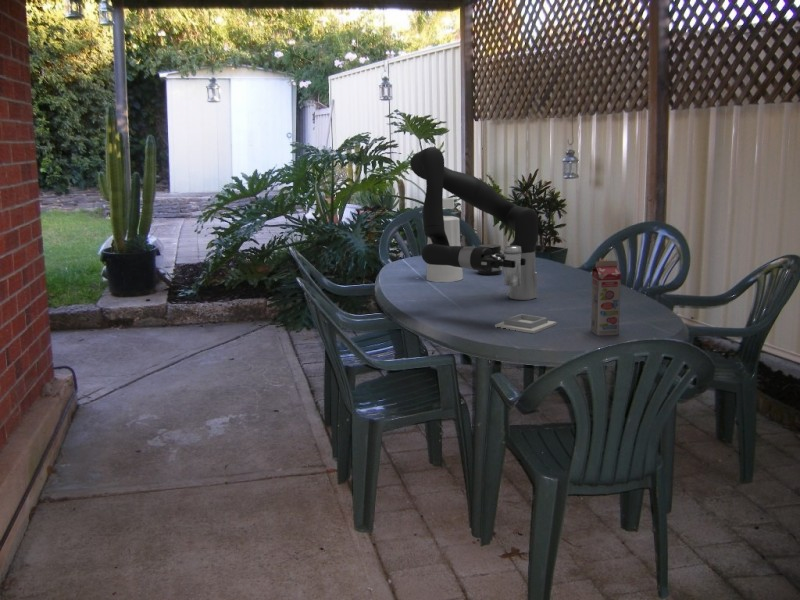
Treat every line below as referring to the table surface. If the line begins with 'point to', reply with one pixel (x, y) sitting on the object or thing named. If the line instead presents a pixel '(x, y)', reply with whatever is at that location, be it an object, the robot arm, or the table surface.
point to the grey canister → (512, 274)
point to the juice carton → (605, 298)
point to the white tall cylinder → (453, 235)
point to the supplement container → (495, 250)
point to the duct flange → (526, 323)
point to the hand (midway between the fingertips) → (519, 263)
